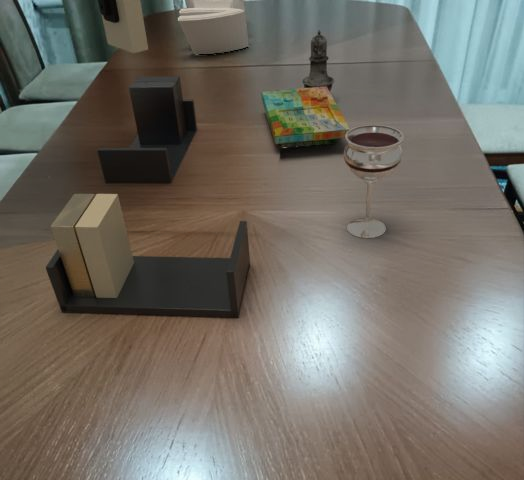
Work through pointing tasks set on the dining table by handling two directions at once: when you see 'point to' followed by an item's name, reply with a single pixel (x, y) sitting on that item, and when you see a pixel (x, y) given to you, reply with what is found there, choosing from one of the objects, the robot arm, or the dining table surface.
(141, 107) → the grey book rack
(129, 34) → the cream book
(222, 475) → the dining table surface
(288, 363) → the dining table surface
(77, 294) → the black book holder
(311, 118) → the puzzle game
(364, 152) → the wineglass
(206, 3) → the wavy white extrusion
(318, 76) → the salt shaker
